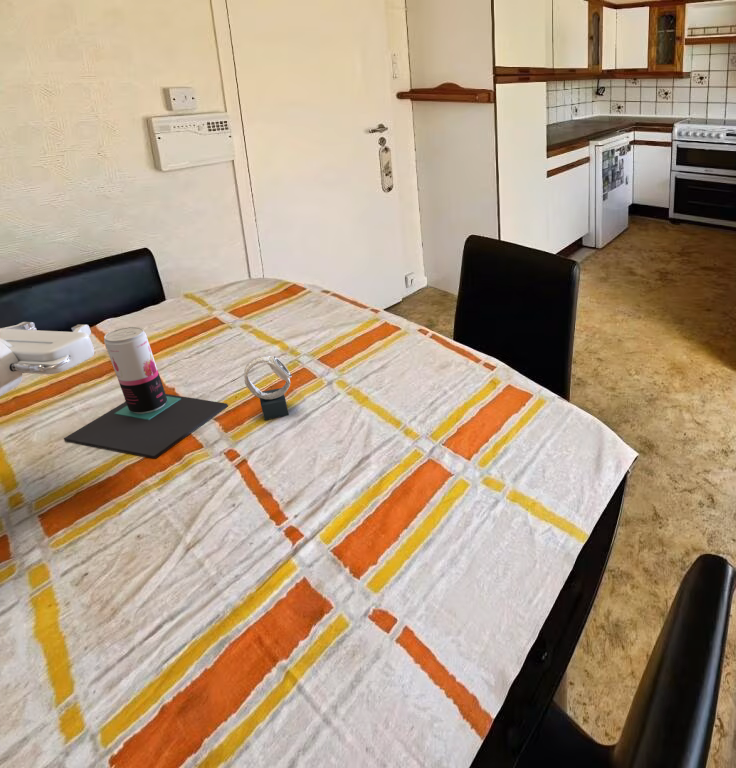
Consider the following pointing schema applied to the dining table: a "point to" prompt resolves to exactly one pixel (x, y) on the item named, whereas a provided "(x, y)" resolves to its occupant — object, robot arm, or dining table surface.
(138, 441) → the place mat
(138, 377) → the beverage can
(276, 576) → the dining table surface
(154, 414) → the corner pad
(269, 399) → the watch
